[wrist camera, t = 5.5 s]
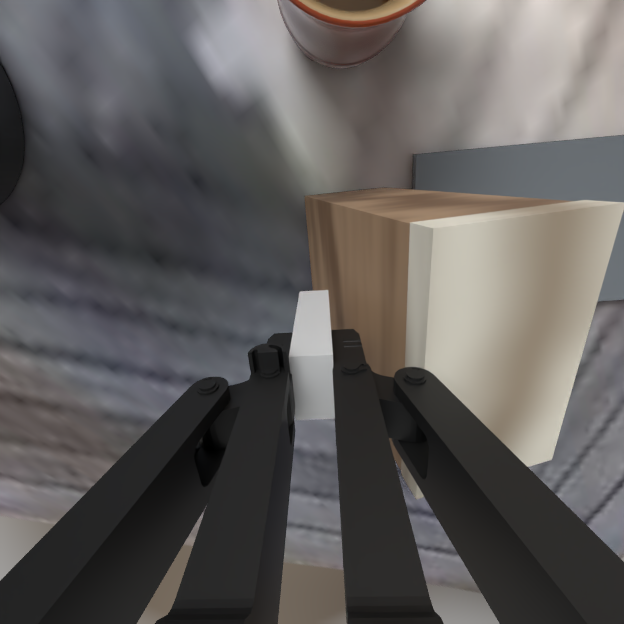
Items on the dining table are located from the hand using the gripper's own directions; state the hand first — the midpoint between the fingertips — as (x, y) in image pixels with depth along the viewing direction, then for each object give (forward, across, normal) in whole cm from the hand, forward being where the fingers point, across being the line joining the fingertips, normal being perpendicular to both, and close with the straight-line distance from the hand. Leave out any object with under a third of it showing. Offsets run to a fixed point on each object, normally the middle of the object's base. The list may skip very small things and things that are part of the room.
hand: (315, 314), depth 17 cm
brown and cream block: (+9, +2, 0) cm, 9 cm away
